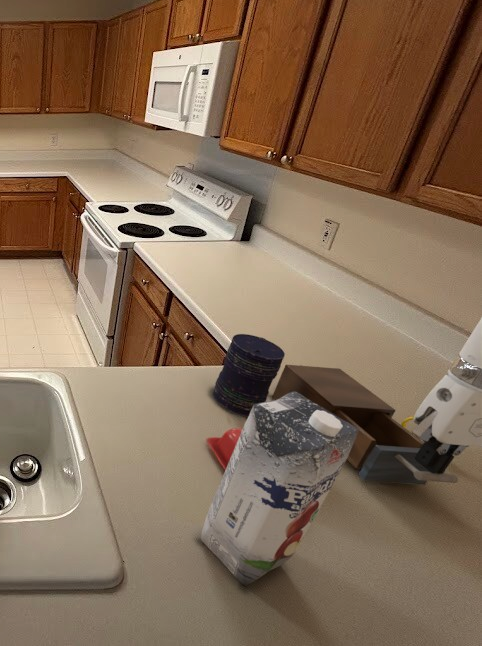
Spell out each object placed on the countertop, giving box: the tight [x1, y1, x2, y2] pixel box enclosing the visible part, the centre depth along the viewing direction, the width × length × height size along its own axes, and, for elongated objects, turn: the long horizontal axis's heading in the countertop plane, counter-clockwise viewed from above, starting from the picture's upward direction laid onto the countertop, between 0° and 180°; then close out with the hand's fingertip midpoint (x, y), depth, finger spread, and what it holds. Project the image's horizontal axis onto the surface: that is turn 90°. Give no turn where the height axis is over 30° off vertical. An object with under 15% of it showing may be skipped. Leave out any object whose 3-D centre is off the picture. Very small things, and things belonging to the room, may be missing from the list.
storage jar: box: [212, 333, 286, 418], centre depth 90 cm, size 10×10×18 cm
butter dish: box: [205, 427, 243, 471], centre depth 74 cm, size 12×12×8 cm
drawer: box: [333, 409, 459, 486], centre depth 76 cm, size 17×11×7 cm, turn 179°
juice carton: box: [200, 391, 359, 586], centre depth 56 cm, size 9×10×27 cm
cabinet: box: [271, 364, 397, 419], centre depth 88 cm, size 14×13×9 cm
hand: (427, 466), depth 69 cm, fingers closed
